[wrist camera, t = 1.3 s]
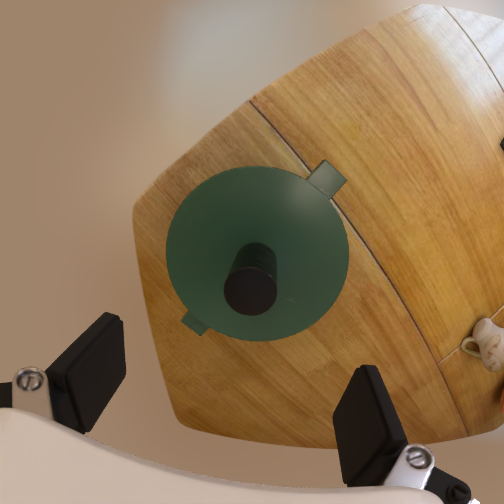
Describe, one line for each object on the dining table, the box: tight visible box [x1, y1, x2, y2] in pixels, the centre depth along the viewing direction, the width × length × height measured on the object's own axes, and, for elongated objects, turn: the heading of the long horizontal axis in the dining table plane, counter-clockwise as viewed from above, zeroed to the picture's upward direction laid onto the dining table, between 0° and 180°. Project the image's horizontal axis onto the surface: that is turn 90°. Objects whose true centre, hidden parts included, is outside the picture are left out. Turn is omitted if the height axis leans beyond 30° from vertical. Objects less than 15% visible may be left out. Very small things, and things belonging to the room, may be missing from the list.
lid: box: [166, 166, 349, 341], centre depth 20 cm, size 15×15×7 cm
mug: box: [461, 318, 504, 372], centre depth 31 cm, size 8×10×10 cm
